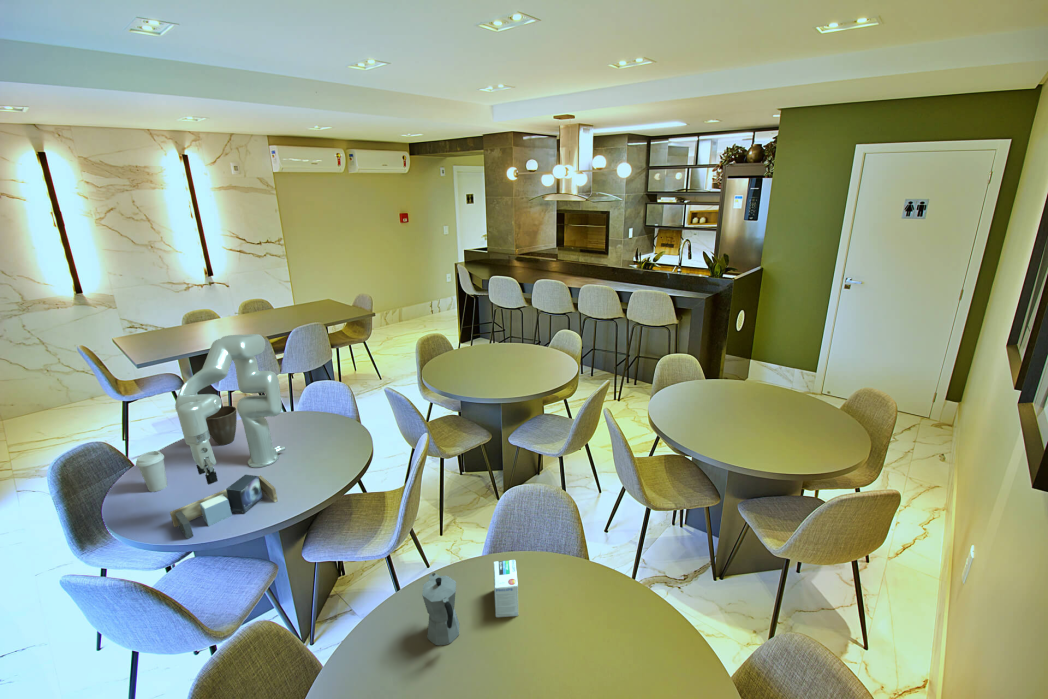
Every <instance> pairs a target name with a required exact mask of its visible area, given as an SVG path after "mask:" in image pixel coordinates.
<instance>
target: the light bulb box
mask: <svg viewBox="0 0 1048 699" xmlns="http://www.w3.org/2000/svg"><path fill="white" fill-rule="evenodd" d="M493 589H494V590H493V591H494V610H495V617H496V618H505V617H506V618H507V617H518V616H519V583H518V572H517V562H516V559H510V560H499V561H498V560H497V561H493Z"/></svg>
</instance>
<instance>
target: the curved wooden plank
mask: <svg viewBox="0 0 1048 699" xmlns="http://www.w3.org/2000/svg"><path fill="white" fill-rule="evenodd" d="M257 476H258V477H259V482H260V487H261V492H263V493H264V494H266V496H267V497H268V498H269V499H270V500H272V501H273V502H274V503H276V502H278V495H277V491H276V490H277V489H276V487H274V486H273V485H272V484H271V483H270V482H269V481H268V480H267V479H266V478H264V477H263V475H261V474H260V475H257ZM226 489H227V488H225V489H223V490H221V491H219V492H216V493H214V494H211V495H209V496H206V497H205V498H204V497H203V498H201V499H199V500H197V501H194V502H191V503H189V504H187V505H186V504H185V505H184V506H182V507H179V508H177V509H173V510H171V511H169V514H170V518H171V520H172V524H173V527H174V528H176V527H179V526H178V522H177V519H176V515H175V513H178V512H180V511H182V513H183V514H184V515H185V517H186V518H187V519H188V521H189V522H190V521H193V520H195V519H197V518H199V517H203V515H202V511H201V508H200V503H202V502H205V501H207V500H210V499H212V498H215V497H217V496H219V495H222V494H223V495H224V496H225V497H226V498H227V499H228V495H227V491H226ZM228 501H229V500H228Z"/></svg>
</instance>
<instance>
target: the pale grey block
mask: <svg viewBox="0 0 1048 699" xmlns="http://www.w3.org/2000/svg"><path fill="white" fill-rule="evenodd" d="M200 508H201V511H202V517H203V521H204V523H205V524H206V525H207V526H208V527H210V526H213V525H214V524H218V523H220V522H222V521H224V520H226V519H228V518H231V517H233V512H231V509H230V504H229V501H228V499H227V498H226V497H225V496H224V495H223V494H222V495H219V496H217V497H215V498H212V499H210V500H207V501H205V502H202V503H200Z"/></svg>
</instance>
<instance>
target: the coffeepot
mask: <svg viewBox="0 0 1048 699" xmlns="http://www.w3.org/2000/svg"><path fill="white" fill-rule="evenodd" d="M428 579H429V580H428V581H426V582H425V583H424V584H422V585H423V586H422V594H421V595H422V596H421V597H422V600H423V602H424V605H425V609H426V612H427V613H428V624H427V625H428V626H427V636H426V637H427V639H428V640H429V641H430V642H431V643H432V644H434V645H436V646H446V645H450V644H452V643H453V642H454V641H455V640H456V639H457V638H458V637H459V635H460V622H459V619H458V615H457V611H456V608H455V603H456V602H455V601H456V592H457V591H456V590H457V581H456V580H454V579H453V578H452V577H450V576H449V575H439V574H438V573H436V572H434V573H432V574H429V575H428Z"/></svg>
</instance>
